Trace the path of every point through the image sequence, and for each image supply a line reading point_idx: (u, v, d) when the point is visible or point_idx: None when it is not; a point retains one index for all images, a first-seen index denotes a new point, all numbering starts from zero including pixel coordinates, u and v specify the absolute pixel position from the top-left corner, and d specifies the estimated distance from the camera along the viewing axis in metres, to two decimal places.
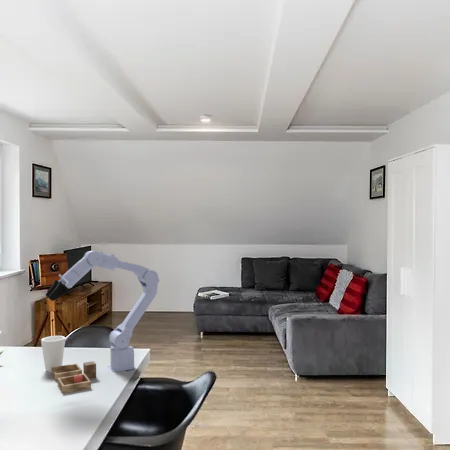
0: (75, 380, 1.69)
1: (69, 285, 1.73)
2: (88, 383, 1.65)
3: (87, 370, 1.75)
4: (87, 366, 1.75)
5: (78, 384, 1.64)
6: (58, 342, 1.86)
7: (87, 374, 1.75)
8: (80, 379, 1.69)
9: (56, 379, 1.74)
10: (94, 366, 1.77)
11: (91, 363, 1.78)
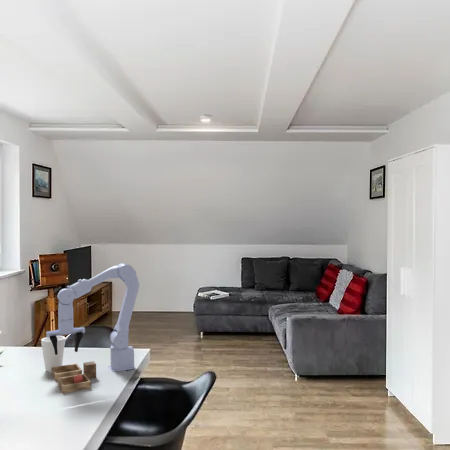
0: (75, 380, 1.69)
1: (46, 334, 1.77)
2: (88, 383, 1.65)
3: (87, 370, 1.75)
4: (87, 366, 1.75)
5: (78, 384, 1.64)
6: (58, 342, 1.86)
7: (87, 374, 1.75)
8: (80, 379, 1.69)
9: (56, 379, 1.74)
10: (94, 366, 1.77)
11: (91, 363, 1.78)
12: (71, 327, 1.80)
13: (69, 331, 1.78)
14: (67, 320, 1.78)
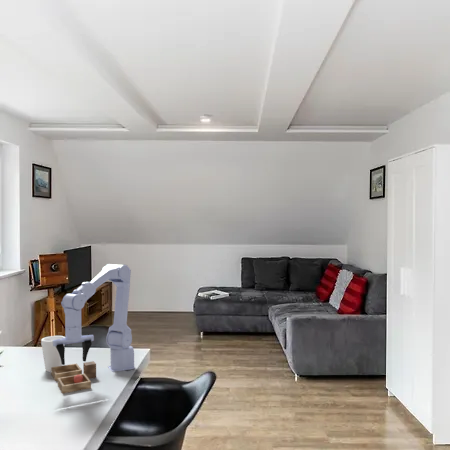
0: (75, 380, 1.69)
1: (53, 343, 1.64)
2: (88, 383, 1.65)
3: (87, 370, 1.75)
4: (87, 366, 1.75)
5: (78, 384, 1.64)
6: None
7: (87, 374, 1.75)
8: (80, 379, 1.69)
9: (56, 379, 1.74)
10: (94, 366, 1.77)
11: (91, 363, 1.78)
12: (79, 335, 1.67)
13: (77, 339, 1.65)
14: (75, 327, 1.65)
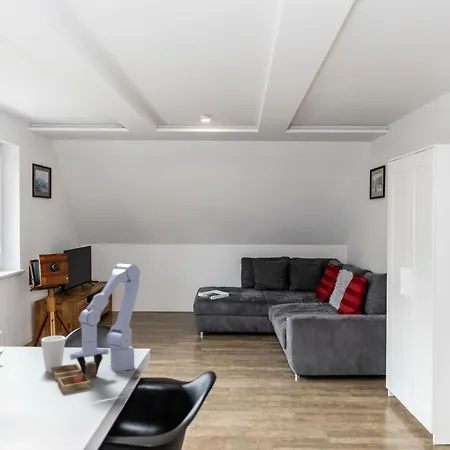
0: (75, 380, 1.69)
1: (70, 356, 1.74)
2: (88, 383, 1.65)
3: (87, 370, 1.75)
4: (87, 366, 1.75)
5: (78, 384, 1.64)
6: (58, 342, 1.86)
7: (87, 374, 1.75)
8: (80, 379, 1.69)
9: (56, 379, 1.74)
10: (94, 366, 1.77)
11: (91, 362, 1.78)
12: (95, 349, 1.77)
13: (93, 353, 1.76)
14: (91, 342, 1.75)
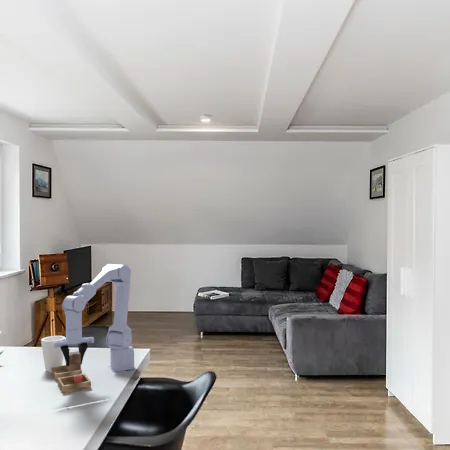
0: (75, 380, 1.69)
1: (53, 345, 1.64)
2: (88, 383, 1.65)
3: (71, 360, 1.65)
4: (71, 356, 1.66)
5: (78, 384, 1.64)
6: None
7: (71, 365, 1.65)
8: (80, 379, 1.69)
9: (56, 379, 1.74)
10: (79, 356, 1.67)
11: (75, 353, 1.68)
12: (80, 337, 1.67)
13: (77, 341, 1.66)
14: (75, 329, 1.66)
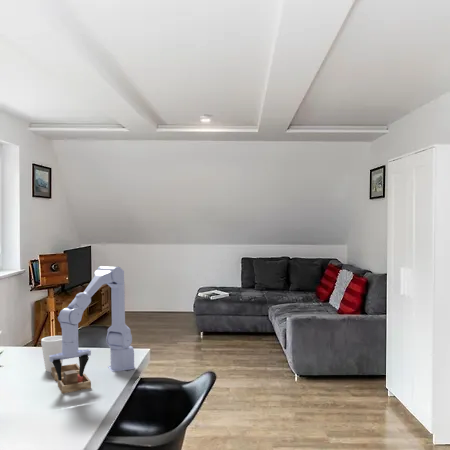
0: None
1: (49, 358, 1.61)
2: (88, 383, 1.65)
3: (68, 380, 1.63)
4: (68, 375, 1.63)
5: (78, 384, 1.64)
6: (58, 342, 1.86)
7: (68, 384, 1.63)
8: (80, 379, 1.69)
9: (56, 379, 1.74)
10: (75, 375, 1.65)
11: (72, 371, 1.66)
12: (76, 350, 1.65)
13: (74, 354, 1.63)
14: (72, 342, 1.63)
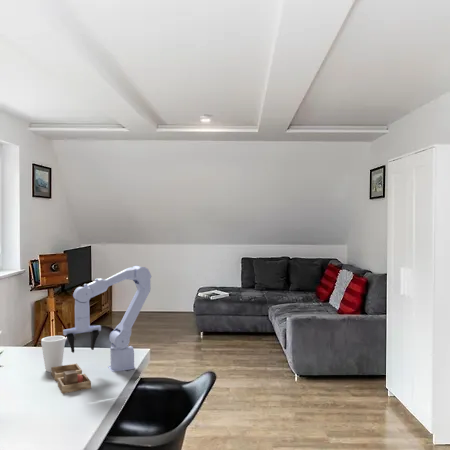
0: None
1: (63, 332, 1.78)
2: (88, 383, 1.65)
3: (68, 380, 1.63)
4: (68, 375, 1.63)
5: (78, 384, 1.64)
6: (58, 342, 1.86)
7: (68, 384, 1.63)
8: (80, 379, 1.69)
9: (56, 379, 1.74)
10: (75, 375, 1.65)
11: (72, 371, 1.66)
12: (87, 325, 1.81)
13: (85, 329, 1.80)
14: (84, 318, 1.79)
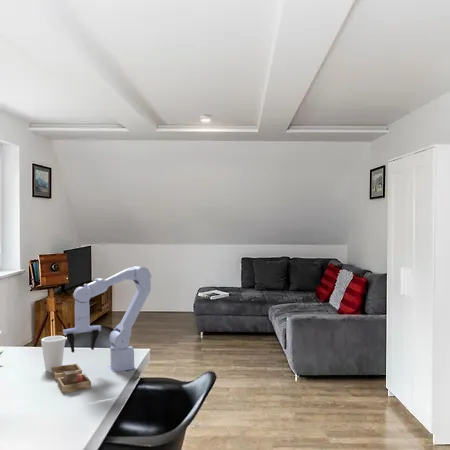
0: None
1: (63, 332, 1.78)
2: (88, 383, 1.65)
3: (68, 380, 1.63)
4: (68, 375, 1.63)
5: (78, 384, 1.64)
6: (58, 342, 1.86)
7: (68, 384, 1.63)
8: (80, 379, 1.69)
9: (56, 379, 1.74)
10: (75, 375, 1.65)
11: (72, 371, 1.66)
12: (87, 325, 1.81)
13: (85, 329, 1.80)
14: (84, 318, 1.79)
